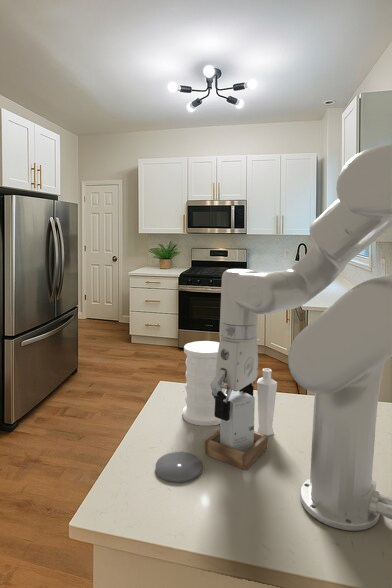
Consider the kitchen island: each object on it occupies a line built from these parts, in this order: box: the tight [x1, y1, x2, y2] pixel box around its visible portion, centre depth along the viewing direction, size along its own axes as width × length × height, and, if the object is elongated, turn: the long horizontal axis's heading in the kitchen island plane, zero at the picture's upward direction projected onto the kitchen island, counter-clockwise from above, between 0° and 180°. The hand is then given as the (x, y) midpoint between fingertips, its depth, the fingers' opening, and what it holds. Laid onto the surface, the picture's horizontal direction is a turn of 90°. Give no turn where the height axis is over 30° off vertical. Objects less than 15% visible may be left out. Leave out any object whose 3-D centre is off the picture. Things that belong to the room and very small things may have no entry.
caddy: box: [204, 429, 269, 471], centre depth 80 cm, size 10×10×3 cm
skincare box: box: [219, 391, 256, 453], centre depth 79 cm, size 6×4×12 cm
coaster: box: [155, 451, 203, 484], centre depth 74 cm, size 9×9×1 cm
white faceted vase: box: [256, 368, 278, 437], centre depth 87 cm, size 5×4×15 cm
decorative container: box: [182, 340, 226, 427], centre depth 96 cm, size 12×12×18 cm
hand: (234, 409), depth 79 cm, fingers open, 9 cm apart
